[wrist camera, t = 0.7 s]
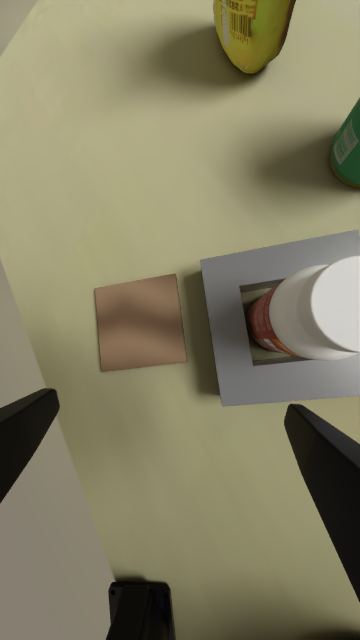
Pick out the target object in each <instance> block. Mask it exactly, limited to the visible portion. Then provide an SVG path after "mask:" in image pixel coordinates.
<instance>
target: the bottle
mask: <svg viewBox="0 0 360 640" xmlns="http://www.w3.org/2000/svg"><path fill="white" fill-rule="evenodd" d="M295 2H296V0H214V3H213V10H214V21H215V27H216V31H217V34H218V37H219V39H220V42H221V45H222V47H223V49H224V51H225V52H226V54H227V55H228V57H229V59H230V60H231V61H232V63H233V64H234V65H235V66H237V67H238V68H240V69H241V70H242V71H243V72H245V73H256V72H258V71H259V70H260V69H261V68H263V67H264V66H265V65H266V64H267V63H269V62H270V61H272V60H273V59H274V58H275V57H276V56H277V55H278V54H279V53H280V51H281V49H282V47H283V45H284V42H285V39H286V36H287V32H288V28H289V23H290V19H291V16H292V12H293V8H294V5H295Z"/></svg>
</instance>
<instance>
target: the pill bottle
mask: <svg viewBox="0 0 360 640" xmlns="http://www.w3.org/2000/svg"><path fill="white" fill-rule="evenodd" d="M247 324H248V329H249V332H250V334H251V335H252V337H253V339H254V340H255V341H256V342H257V343H258V344H259V345H261V346H262V347H264V348H266V349H268V350H271V351H275V352H280V353H284V354H289V355H293V356H298V357H303V358H308V359H312V360H321V361H334V360H340V359H345V358H348V357H351V356H353V355H355V354H357V353H360V256H352V257H348V258H344V259H341V260H338V261H336V262H334V263H332V264H330V265H316V266H311V267H307V268H305V269H302V270H300V271H298V272H296V273H294V274H292V275H290V276H289V277H287V278H286V279H284V280H283V281H282V282H280V283H279V284H278V285H276V286H275V287H274V288H272V289H271V290H270V291H268V292H267V293H266V294H264V295H263V296H261V297H260V298H259V299H258V300H257V301H255V303H254V304H253V305H252V307H251V308H250V310H249V313H248V318H247Z"/></svg>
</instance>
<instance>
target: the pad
mask: <svg viewBox="0 0 360 640" xmlns="http://www.w3.org/2000/svg"><path fill="white" fill-rule="evenodd" d="M95 296H96V308H97V320H98V333H99V345H100V357H101V369H102V372H105V371H113V370H122V369H131V368H140V367H148V366H157V365H166V364H174V363H183V362H187V354H186V347H185V339H184V332H183V324H182V317H181V309H180V302H179V294H178V287H177V279H176V274H170V275H165V276H159V277H154V278H148V279H143V280H137V281H132V282H127V283H121V284H116V285H110V286H105V287H100V288H95Z"/></svg>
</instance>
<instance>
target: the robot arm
mask: <svg viewBox="0 0 360 640" xmlns="http://www.w3.org/2000/svg"><path fill="white" fill-rule="evenodd" d="M59 407H60V405H59V400H58V396H57V391H56V390H55V389H51V388H44V389H41V390H39V391H37V392H34V393H33V394H30V395H28V396H26V397H24V398H22V399H19V400H17V401H15V402H13V403H11V404H9V405H6V406H4V407H2V408H0V503H1V502H2V500H3V499H4V497H5V496H6V494H7V493H8V491H9V490H10V489H11V487H12V486H13V484H14V483H15V481H16V480H17V478H18V477H19V475H20V474H21V472H22V471H23V469H24V468H25V466H26V465H27V463H28V462H29V461H30V459H31V457H32V456H33V454H34V452H35V451H36V450H37V448H38V446H39V444H40V443H41V441H42V439H43V438H44V436H45V434H46V432H47V431H48V429H49V427H50V425H51V424H52V422H53V420H54V418H55V417H56V415H57V413H58V411H59ZM284 426H285V429H286V432H287V435H288V438H289V441H290V443H291V446H292V449H293V452H294V455H295V457H296V460H297V463H298V466H299V469H300V471H301V474H302V476H303V478H304V481H305V483H306V485H307V487H308V490H309V492H310V494H311V496H312V498H313V501H314V503H315V505H316V507H317V509H318V512H319V514H320V516H321V518H322V520H323V523H324V525H325V527H326V529H327V531H328V534H329V536H330V538H331V540H332V542H333V545H334V547H335V549H336V551H337V553H338V556H339V558H340V560H341V562H342V564H343V567H344V569H345V571H346V573H347V575H348V578H349V580H350V582H351V584H352V586H353V589H354V591H355V593H356V595H357V597H358V600H359V602H360V444H359V443H357V442H356V441H354V440H353V439H352V438H350V437H349V436H347V435H346V434H344V433H343V432H341V431H340V430H338V429H337V428H335V427H334V426H332V425H331V424H329V423H328V422H327V421H325V420H324V419H322V418H321V417H319V416H318V415H316V414H315V413H313V412H312V411H310V410H309V409H307V408H306V407H304V406H303V405H300V404H290V405H289V406H288V408H287V412H286V416H285V419H284ZM109 605H110V619H111V626H110V629H109V632H108V635H107V638H106V640H176V637H175V628H174V619H173V610H172V600H171V591H170V588H169V587H168V586H167V585H161V584H144V583H127V582H112V583H111V585H110V588H109Z"/></svg>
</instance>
